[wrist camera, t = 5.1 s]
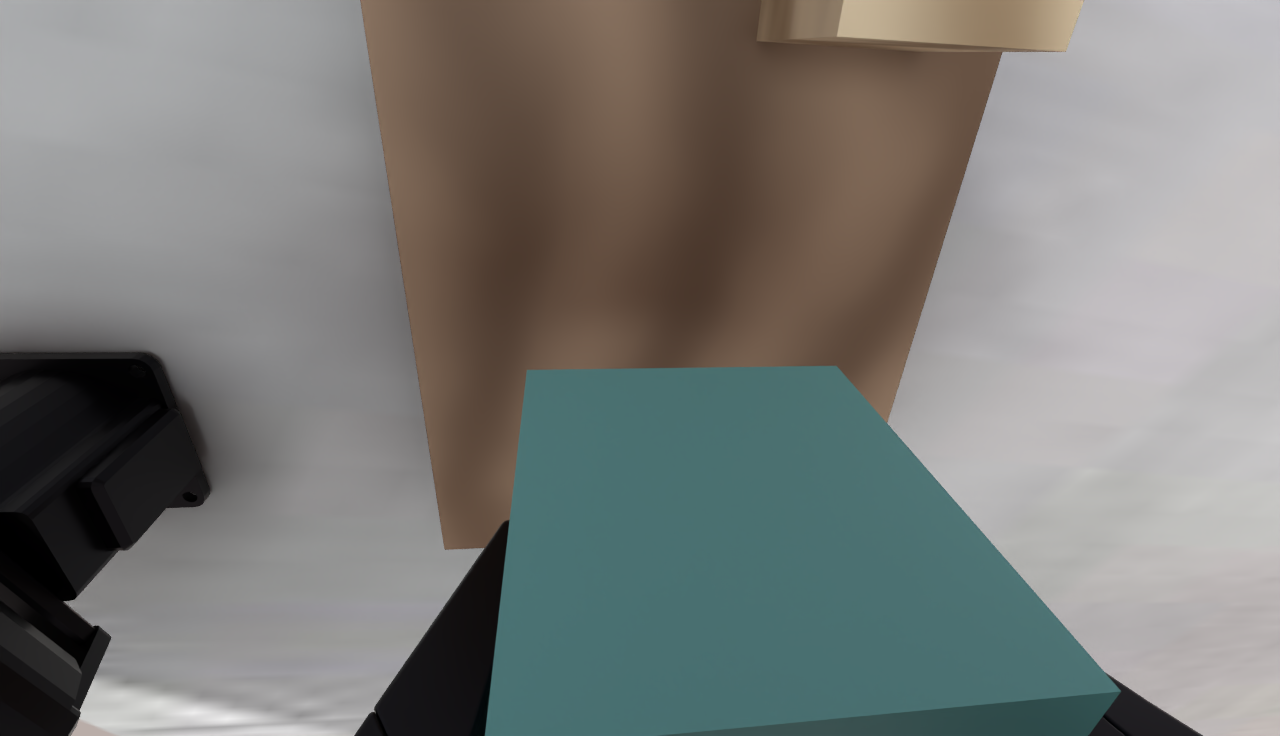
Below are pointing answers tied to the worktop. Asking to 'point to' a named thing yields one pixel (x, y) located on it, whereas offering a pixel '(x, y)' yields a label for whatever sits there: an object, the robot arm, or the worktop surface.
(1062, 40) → the birch block
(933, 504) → the teal block
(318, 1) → the worktop surface
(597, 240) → the walnut board
